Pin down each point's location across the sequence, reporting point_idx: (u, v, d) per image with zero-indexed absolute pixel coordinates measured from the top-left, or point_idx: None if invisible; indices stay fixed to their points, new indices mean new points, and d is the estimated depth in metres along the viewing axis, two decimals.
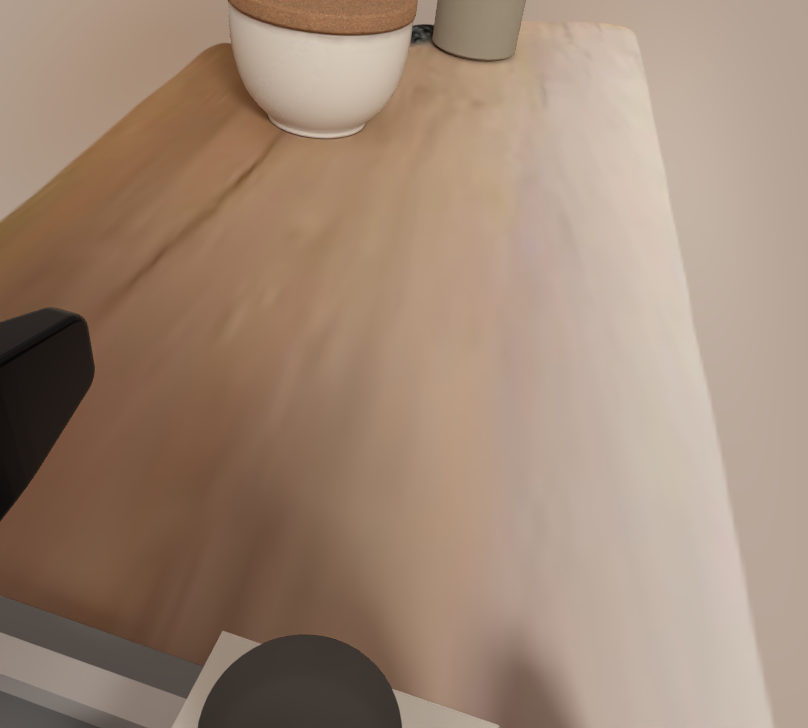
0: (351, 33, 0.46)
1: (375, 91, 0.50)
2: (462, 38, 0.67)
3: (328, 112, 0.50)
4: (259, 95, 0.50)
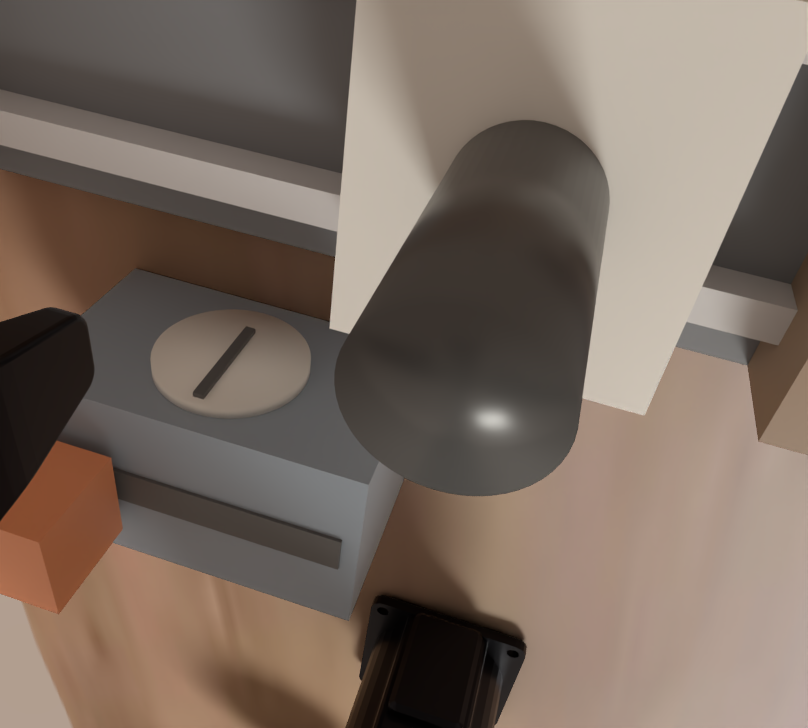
0: None
1: None
2: None
3: None
4: None
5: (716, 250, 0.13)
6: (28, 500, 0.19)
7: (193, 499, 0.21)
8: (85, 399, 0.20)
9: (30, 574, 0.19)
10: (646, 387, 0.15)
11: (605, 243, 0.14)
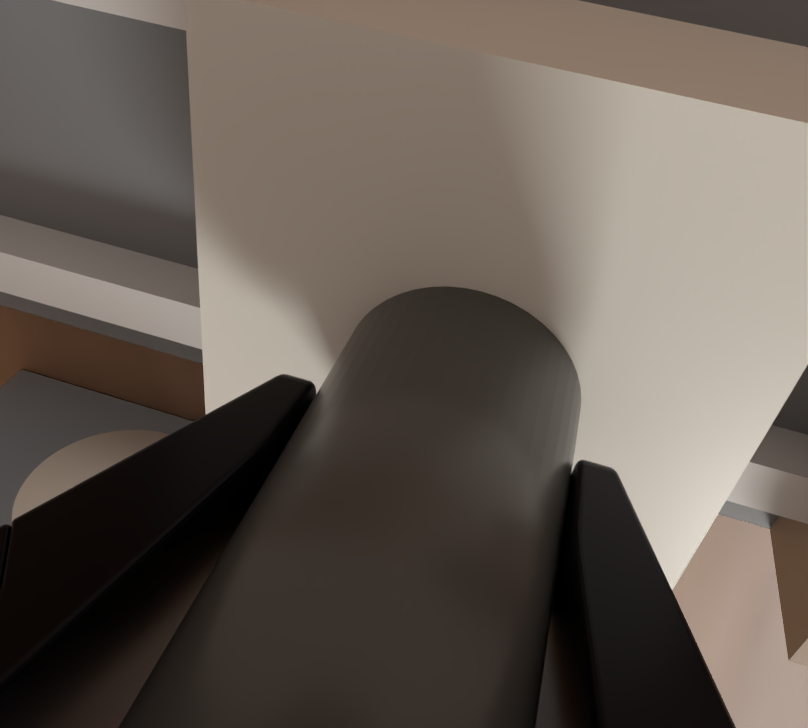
0: None
1: None
2: None
3: None
4: None
5: (739, 469, 0.09)
6: None
7: None
8: None
9: None
10: None
11: (576, 450, 0.09)
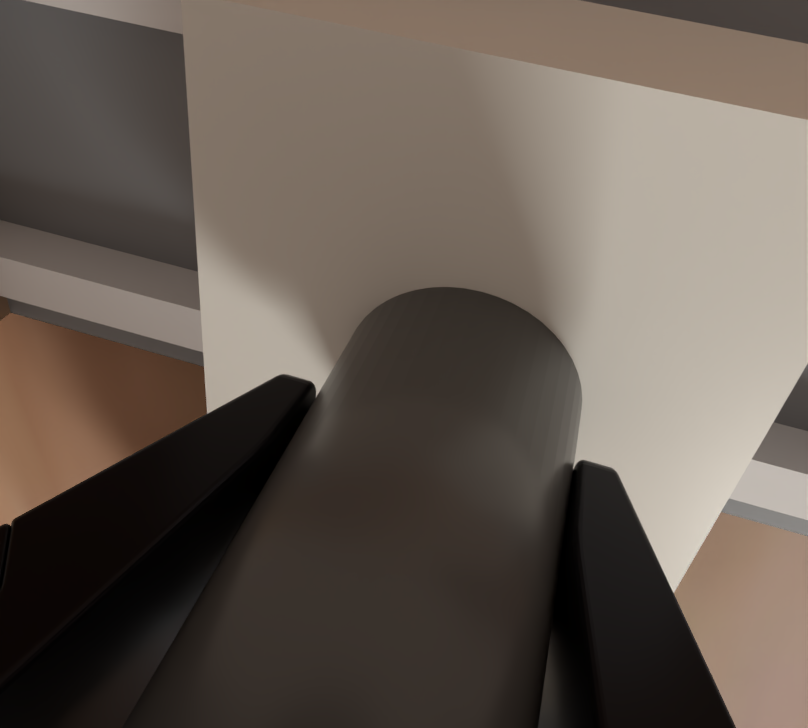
0: None
1: None
2: None
3: None
4: None
5: (742, 467, 0.09)
6: None
7: None
8: None
9: None
10: None
11: (578, 449, 0.09)
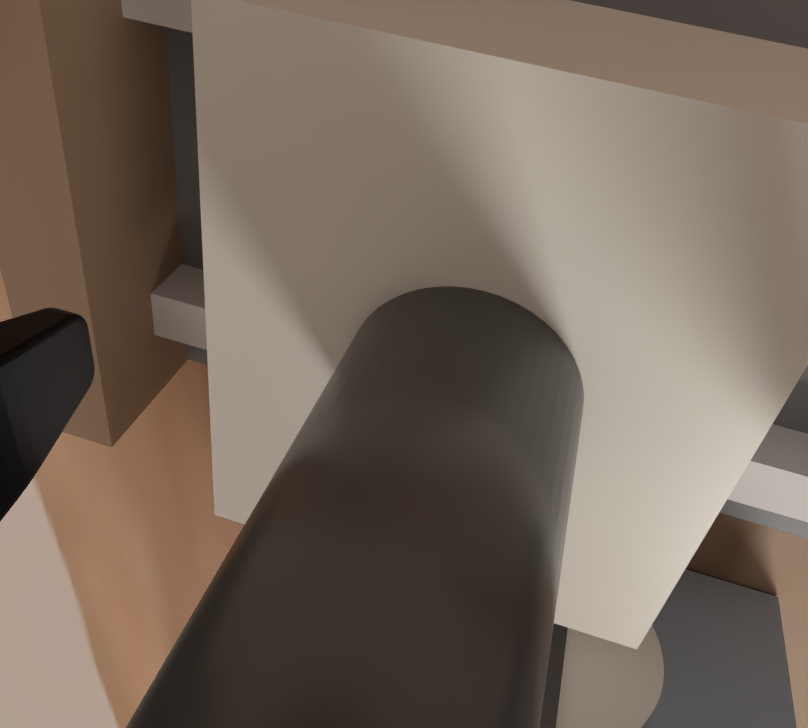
0: None
1: None
2: None
3: None
4: None
5: (741, 467, 0.09)
6: None
7: None
8: None
9: None
10: (640, 619, 0.11)
11: (579, 449, 0.09)
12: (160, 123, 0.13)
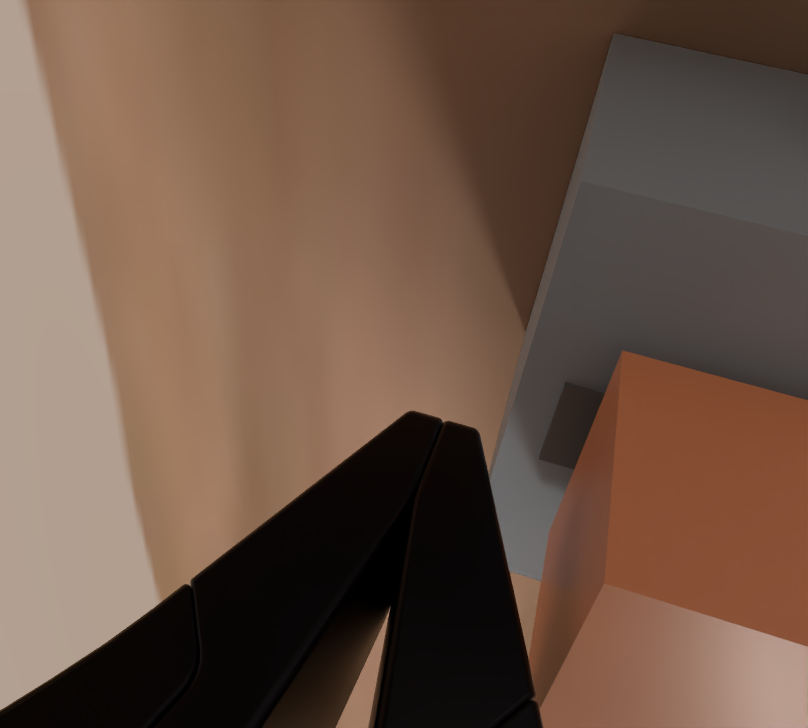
0: None
1: None
2: None
3: None
4: None
5: None
6: None
7: None
8: None
9: None
10: None
11: None
12: None
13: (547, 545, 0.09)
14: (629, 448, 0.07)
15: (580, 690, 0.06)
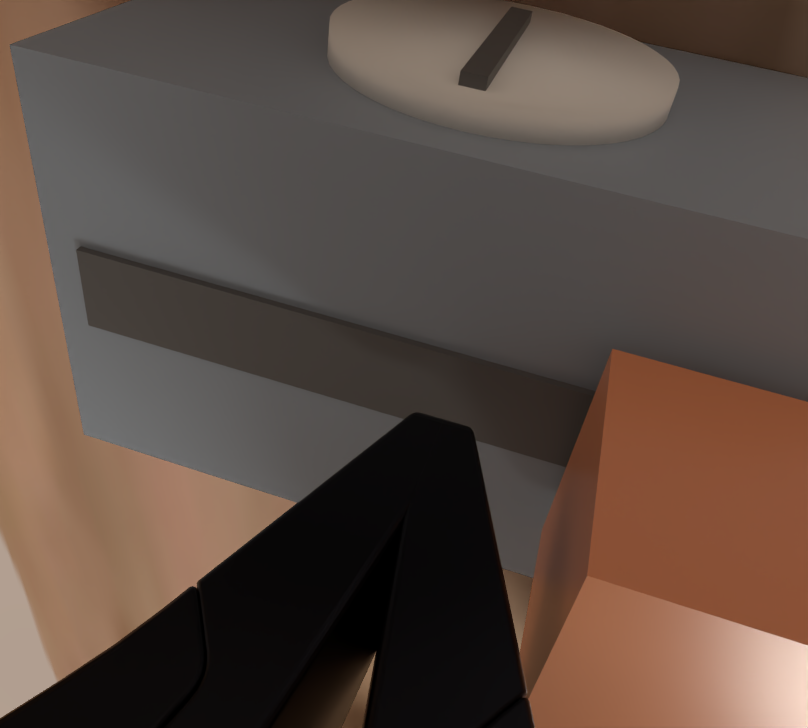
0: None
1: None
2: None
3: None
4: None
5: None
6: None
7: (420, 360, 0.09)
8: (192, 90, 0.08)
9: None
10: None
11: None
12: None
13: (540, 542, 0.09)
14: (616, 445, 0.07)
15: (566, 682, 0.06)
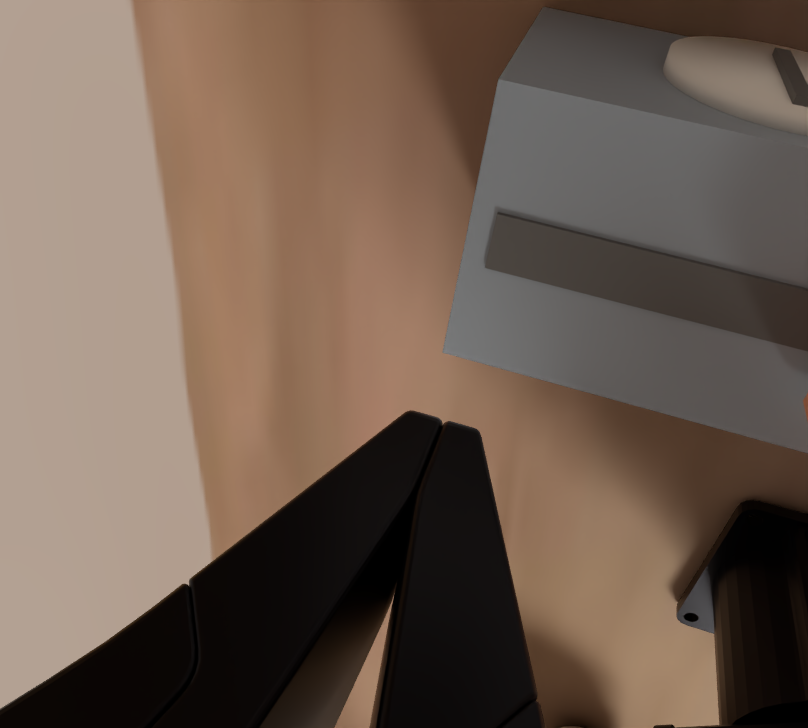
0: None
1: None
2: None
3: None
4: None
5: None
6: None
7: (737, 285, 0.14)
8: (624, 108, 0.13)
9: None
10: None
11: None
12: None
13: (806, 407, 0.14)
14: None
15: None
